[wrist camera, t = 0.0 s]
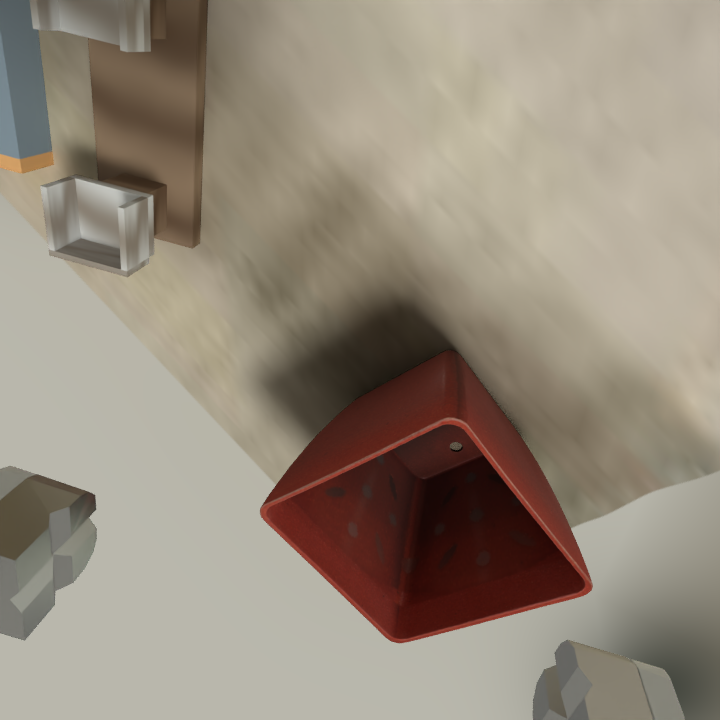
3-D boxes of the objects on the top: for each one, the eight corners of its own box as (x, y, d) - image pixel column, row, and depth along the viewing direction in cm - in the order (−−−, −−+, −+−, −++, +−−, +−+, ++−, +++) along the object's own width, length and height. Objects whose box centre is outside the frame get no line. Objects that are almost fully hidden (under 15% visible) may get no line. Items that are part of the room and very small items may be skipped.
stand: (93, -64, 39) (-16, -93, 30) (208, -37, 38) (130, -59, 30) (111, 219, 50) (36, 254, 42) (199, 243, 50) (141, 284, 41)
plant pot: (569, 448, 53) (600, 596, 39) (414, 509, 62) (393, 647, 48) (466, 302, 47) (457, 413, 33) (311, 392, 56) (252, 510, 42)
